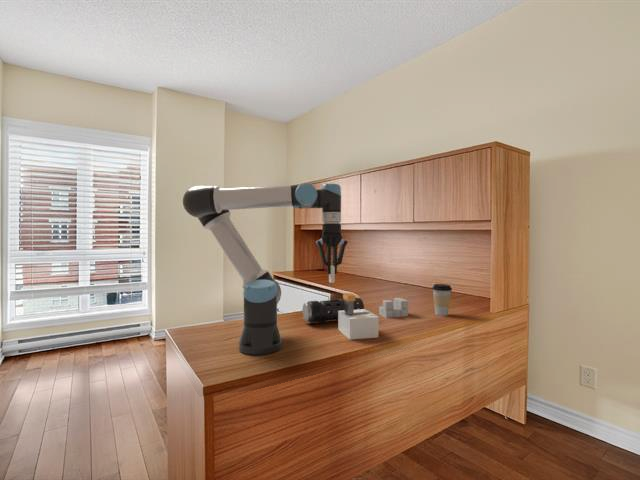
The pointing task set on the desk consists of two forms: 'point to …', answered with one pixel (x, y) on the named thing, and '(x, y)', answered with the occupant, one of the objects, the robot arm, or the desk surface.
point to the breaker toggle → (349, 302)
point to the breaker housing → (358, 324)
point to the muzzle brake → (326, 310)
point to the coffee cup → (441, 298)
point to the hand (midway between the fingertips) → (331, 282)
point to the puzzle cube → (394, 308)
